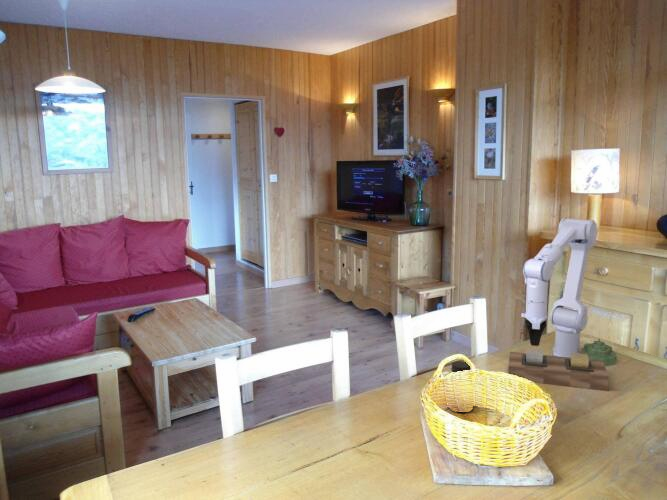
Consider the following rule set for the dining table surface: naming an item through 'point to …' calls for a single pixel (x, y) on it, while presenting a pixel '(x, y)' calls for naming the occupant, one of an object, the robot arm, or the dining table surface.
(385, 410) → the dining table surface
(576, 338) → the robot arm
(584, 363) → the brass peg
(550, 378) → the walnut board
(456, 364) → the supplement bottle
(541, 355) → the steel peg
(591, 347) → the decorative artifact
